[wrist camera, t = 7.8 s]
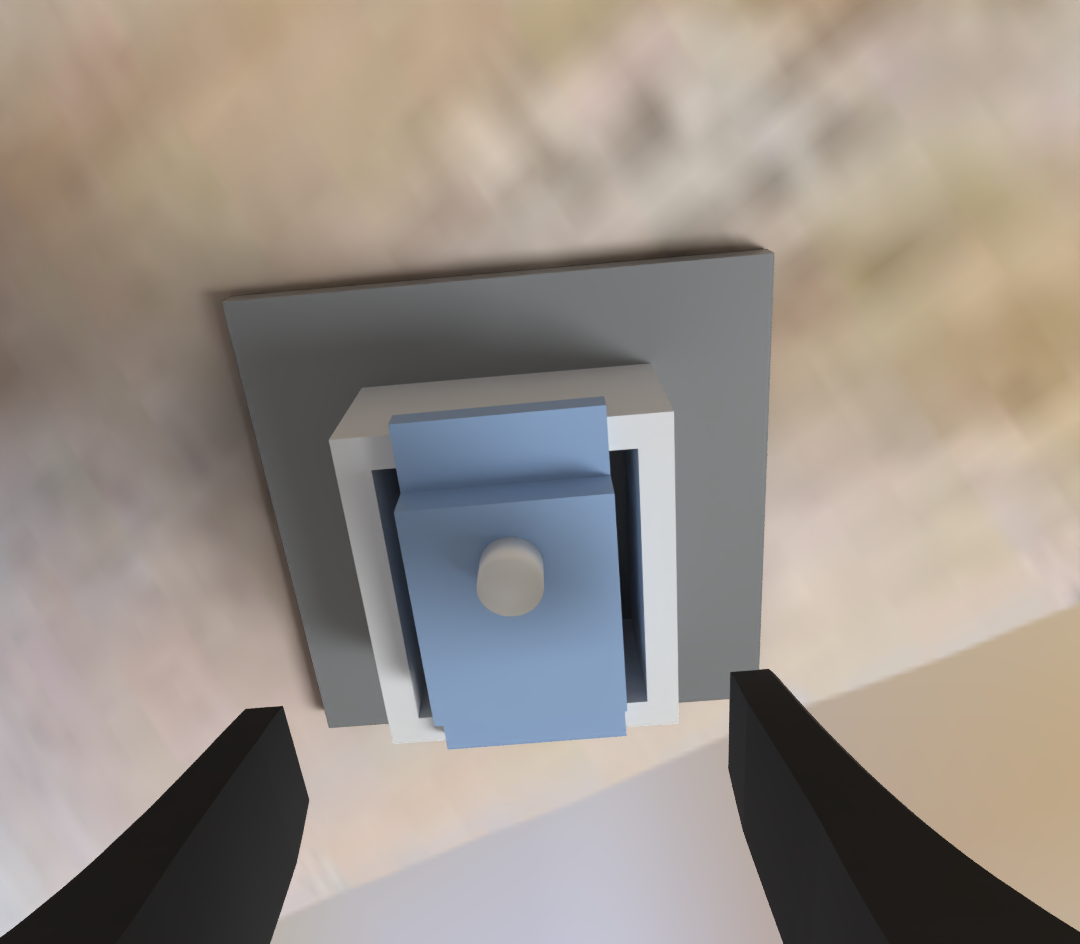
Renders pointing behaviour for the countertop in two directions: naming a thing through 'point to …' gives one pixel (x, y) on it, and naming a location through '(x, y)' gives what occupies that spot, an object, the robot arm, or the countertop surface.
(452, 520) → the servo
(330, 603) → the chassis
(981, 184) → the countertop surface
